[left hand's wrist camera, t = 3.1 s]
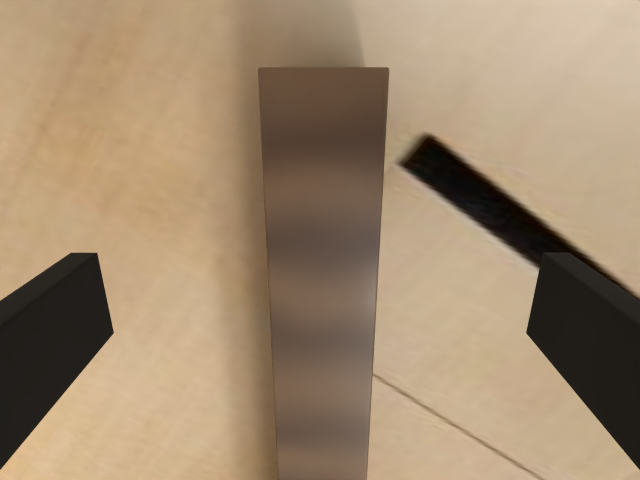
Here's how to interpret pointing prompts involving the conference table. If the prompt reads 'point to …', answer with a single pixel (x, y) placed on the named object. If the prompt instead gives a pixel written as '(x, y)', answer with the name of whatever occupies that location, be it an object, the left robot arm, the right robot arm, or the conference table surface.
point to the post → (323, 260)
